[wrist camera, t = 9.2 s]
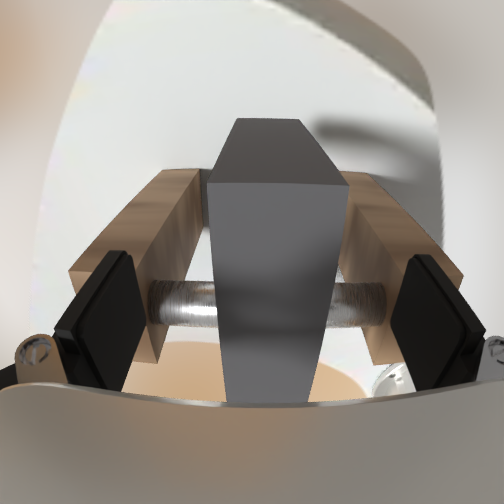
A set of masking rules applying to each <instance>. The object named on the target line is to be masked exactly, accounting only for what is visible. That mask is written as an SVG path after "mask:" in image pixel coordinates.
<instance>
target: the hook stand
mask: <svg viewBox="0 0 504 504" xmlns="http://www.w3.org/2000/svg"><path fill="white" fill-rule="evenodd" d="M339 172H340V173H341V175H342V176H343V177H344V179H345V180H346V182H347V183H348V184H349V186H350V187H349V195H348V202H347V210H346V217H345V223H344V230H343V237H342V243H341V249H340V255H339V261H338V265H339V267H340V270H341V272H342V275H343V278H344V281H345V283H334V289H333V294H332V299H331V304H330V309H329V314H328V318H327V323H326V328H355V327H361V328H362V331H363V334H364V337H365V340H366V343H367V346H368V349H369V353H370V356H371V359H372V362H373V365H383V364H393V363H403V362H405V361H404V358H403V356H402V353H401V351H400V348H399V346H398V344H397V341H396V339H395V336H394V334H393V332H392V329H391V326H390V319H391V316H392V313H393V310H394V307H395V304H396V300H397V297H398V294H399V291H400V287H401V284H402V281H403V277H404V274H405V270H406V267H407V263H408V260H409V259H410V258H412V257H413V256H414V255H415V254H430V255H431V256H432V257H433V258H434V260H435V261H436V262H437V263H438V265H439V266H440V267H441V268H442V270H443V271H444V272H445V273H446V275H447V276H448V277H449V279H450V280H451V281H452V283H453V284H454V285H455V287H456V288H457V289H458V290H459V287H460V285H461V282H462V279H463V274H462V273H461V272H460V270H459V269H458V268H457V267H456V266H455V264H454V263H453V262H452V261H451V260H450V259H449V257H448V256H447V255H446V254H445V253H444V252H443V250H442V249H441V248H440V247H439V246H438V245H437V244H436V243H435V241H434V240H433V239H432V238H431V237H430V236H429V235H428V234H427V233H426V232H425V231H424V229H423V228H422V227H421V226H420V225H419V224H418V223H417V222H416V221H415V220H414V219H413V218H412V217H411V216H410V215H409V214H408V213H407V212H406V211H405V210H404V209H403V208H402V207H401V206H400V205H399V204H398V203H397V202H396V201H395V200H394V199H393V198H392V197H391V196H390V195H389V194H388V193H387V192H386V191H385V190H384V189H383V188H382V187H381V186H380V185H379V184H378V183H377V182H376V181H375V180H373V179H372V178H371V177H370V176H369V175H368V174H367V173H360V172H346V171H339ZM202 229H203V216H202V201H201V184H200V169H171V170H162V171H161V172H160V173H159V174H158V175H157V176H156V177H154V178H153V179H152V180H151V181H150V182H149V183H148V184H147V185H146V186H145V187H144V188H143V189H142V190H141V191H140V192H139V193H138V194H137V195H136V196H135V197H134V198H133V199H132V200H131V201H130V202H129V203H128V204H127V205H126V207H125V208H124V209H123V210H122V211H121V212H120V213H119V214H118V215H117V216H116V217H115V218H114V219H113V220H112V221H111V222H110V223H109V225H108V226H107V227H106V228H105V229H104V230H103V231H102V232H101V233H100V234H99V236H98V237H97V238H96V239H95V240H94V241H93V242H92V243H91V245H90V246H89V247H88V248H87V249H86V250H85V251H84V253H83V254H82V255H81V256H80V257H79V258H78V260H77V261H76V262H75V263H74V264H73V266H72V267H71V268H70V269H69V270H68V272H69V276H70V279H71V282H72V285H73V287H74V290H75V293H76V295H77V293H78V292H79V290H80V289H81V288H82V286H83V285H84V283H85V282H86V281H87V279H88V278H89V276H90V275H91V274H92V272H93V271H94V270H95V268H96V267H97V266H98V264H99V263H100V262H101V260H102V259H103V258H104V256H105V255H106V254H107V252H108V251H109V250H125V251H126V252H127V253H128V255H131V256H132V258H133V262H134V267H135V271H136V276H137V280H138V285H139V289H140V293H141V298H142V302H143V306H144V310H145V314H146V327H145V329H144V332H143V334H142V337H141V339H140V342H139V345H138V347H137V350H136V352H135V355H134V358H133V360H132V361H136V362H145V363H154V364H157V363H158V360H159V357H160V353H161V350H162V347H163V344H164V341H165V338H166V334H167V331H168V328H169V325H171V326H188V327H210V328H218V320H217V310H216V299H215V288H214V281H184V280H185V277H186V274H187V271H188V268H189V266H190V263H191V260H192V257H193V254H194V251H195V249H196V246H197V243H198V240H199V238H200V235H201V232H202Z"/></svg>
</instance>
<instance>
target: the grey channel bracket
mask: <svg viewBox="0 0 504 504" xmlns="http://www.w3.org/2000/svg"><path fill="white" fill-rule="evenodd" d="M349 187H350V186H349V184H348V183H347V182H346V180H345V179H344V177H343V176H342V175H341V173H340V172H339V170H338V169H337V168H336V166H335V165H334V164H333V162H332V161H331V160H330V158H329V157H328V156H327V154H326V153H325V152H324V150H323V149H322V148H321V146H320V145H319V144H318V143H317V141H316V140H315V139H314V137H313V136H312V135H311V134H310V132H309V131H308V130H307V129H306V127H305V126H304V125H303V124H302V122H301V121H300V120H299V119H272V118H237V119H236V121H235V123H234V125H233V128H232V130H231V132H230V134H229V136H228V138H227V140H226V142H225V144H224V146H223V148H222V151H221V153H220V155H219V157H218V159H217V161H216V163H215V166H214V168H213V170H212V172H211V174H210V177H209V179H208V181H207V198H208V213H209V227H210V241H211V253H212V265H213V277H214V288H215V299H216V310H217V320H218V330H219V339H220V348H221V356H222V365H223V375H224V383H225V392H226V400H227V402H238V403H302V402H308V398H309V394H310V391H311V387H312V383H313V379H314V375H315V371H316V367H317V363H318V359H319V354H320V350H321V346H322V341H323V337H324V332H325V328H326V323H327V318H328V314H329V309H330V304H331V299H332V294H333V289H334V283H335V278H336V272H337V267H338V261H339V255H340V249H341V243H342V237H343V230H344V223H345V217H346V210H347V202H348V195H349Z"/></svg>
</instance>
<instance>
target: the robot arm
mask: <svg viewBox="0 0 504 504" xmlns="http://www.w3.org/2000/svg"><path fill="white" fill-rule="evenodd" d="M390 326H391V329H392V332H393V334H394V336H395V339H396V341H397V344H398V346H399V348H400V351H401V353H402V356H403V358H404V361H405V362H403V363H394V364H393V365H391V366H390V367H389V368H387V369H386V370H385V371H384V372H383V373H382V374H381V375H380V377H379V378H378V379H377V381H376V382H375V384H374V386H373V389H372V396H373V398H363V399H352V400H341V401H340V400H339V401H324V402H302V403H238V402H215V401H199V400H185V399H175V398H165V397H156V396H147V395H140V394H132V393H125V392H121V390H122V388H123V385H124V382H125V379H126V377H127V374H128V371H129V368H130V366H131V363H132V360H133V358H134V355H135V352H136V350H137V347H138V345H139V342H140V339H141V337H142V334H143V332H144V329H145V327H146V314H145V310H144V306H143V302H142V298H141V293H140V289H139V285H138V280H137V276H136V271H135V267H134V262H133V258H132V256H131V255H128V253H127V252H126V251H125V250H109V251H108V252H107V254H106V255H105V256H104V258H103V259H102V260H101V262H100V263H99V264H98V266H97V267H96V268H95V270H94V271H93V272H92V274H91V275H90V276H89V278H88V279H87V281H86V282H85V283H84V285H83V286H82V288H81V289H80V290H79V292H78V293H77V295H76V296H75V297H74V299H73V300H72V302H71V303H70V305H69V306H68V308H67V309H66V311H65V312H64V314H63V315H62V317H61V318H60V320H59V321H58V323H57V324H56V326H55V327H54V330H55V333H54V334H53V336H52V337H51V336H50V335H46V334H36V335H33V336H30V337H29V338H27V339H26V340H24V341H23V342H22V343H21V344H20V345H19V347H18V348H17V350H16V352H15V364H12V365H10V366H8V367H6V368H4V369H2V370H0V504H504V338H503V337H500V336H492V337H489V338H488V339H486V340H485V339H484V337H483V335H484V333H485V332H486V329H485V328H484V326H483V325H482V323H481V322H480V320H479V319H478V317H477V316H476V314H475V313H474V312H473V310H472V309H471V307H470V306H469V304H468V303H467V302H466V301H465V299H464V297H463V296H462V295H461V293H460V292H459V291H458V289H457V288H456V287H455V285H454V284H453V283H452V281H451V280H450V279H449V277H448V276H447V275H446V273H445V272H444V271H443V270H442V268H441V267H440V266H439V265H438V263H437V262H436V261H435V260H434V258H433V257H432V256H431V255H430V254H415V255H414V256H413V257H412V258H410V259H409V260H408V263H407V267H406V270H405V274H404V277H403V281H402V284H401V287H400V291H399V294H398V297H397V300H396V304H395V307H394V310H393V313H392V316H391V319H390Z"/></svg>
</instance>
